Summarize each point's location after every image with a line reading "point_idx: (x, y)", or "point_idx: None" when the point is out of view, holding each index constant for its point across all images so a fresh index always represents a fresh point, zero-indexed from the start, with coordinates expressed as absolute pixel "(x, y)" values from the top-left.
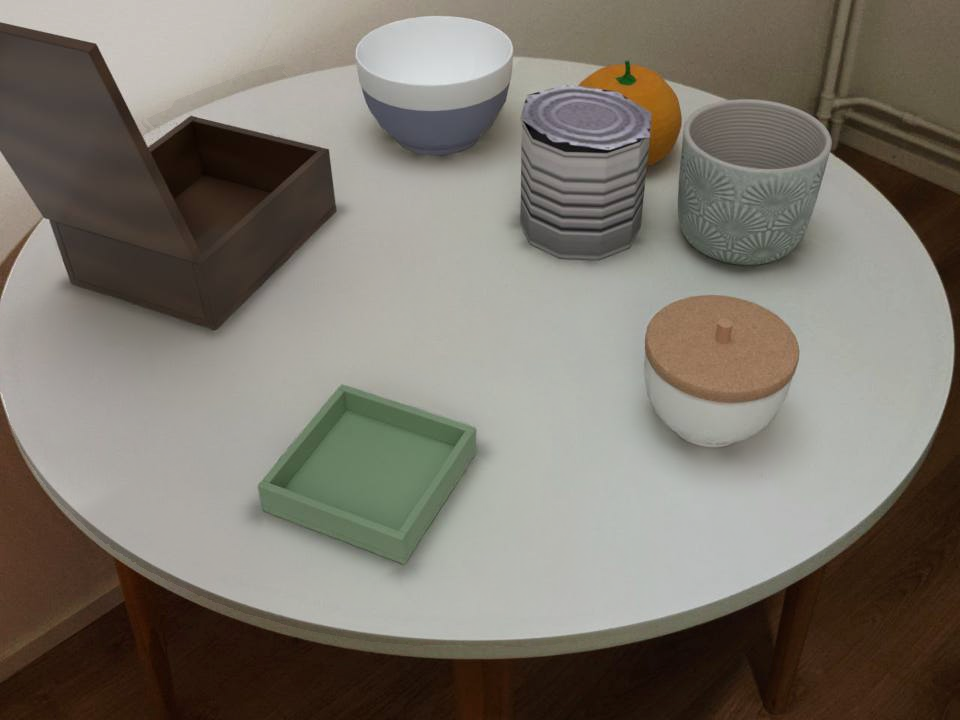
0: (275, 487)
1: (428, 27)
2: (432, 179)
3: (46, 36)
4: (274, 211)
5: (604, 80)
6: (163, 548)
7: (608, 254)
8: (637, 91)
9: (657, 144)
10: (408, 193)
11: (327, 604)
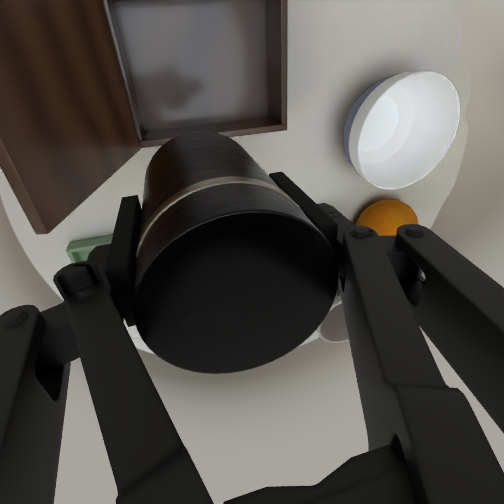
0: (71, 256)
1: (450, 99)
2: (323, 151)
3: (15, 179)
4: None
5: (395, 234)
6: (19, 224)
7: None
8: None
9: None
10: (305, 148)
11: None
